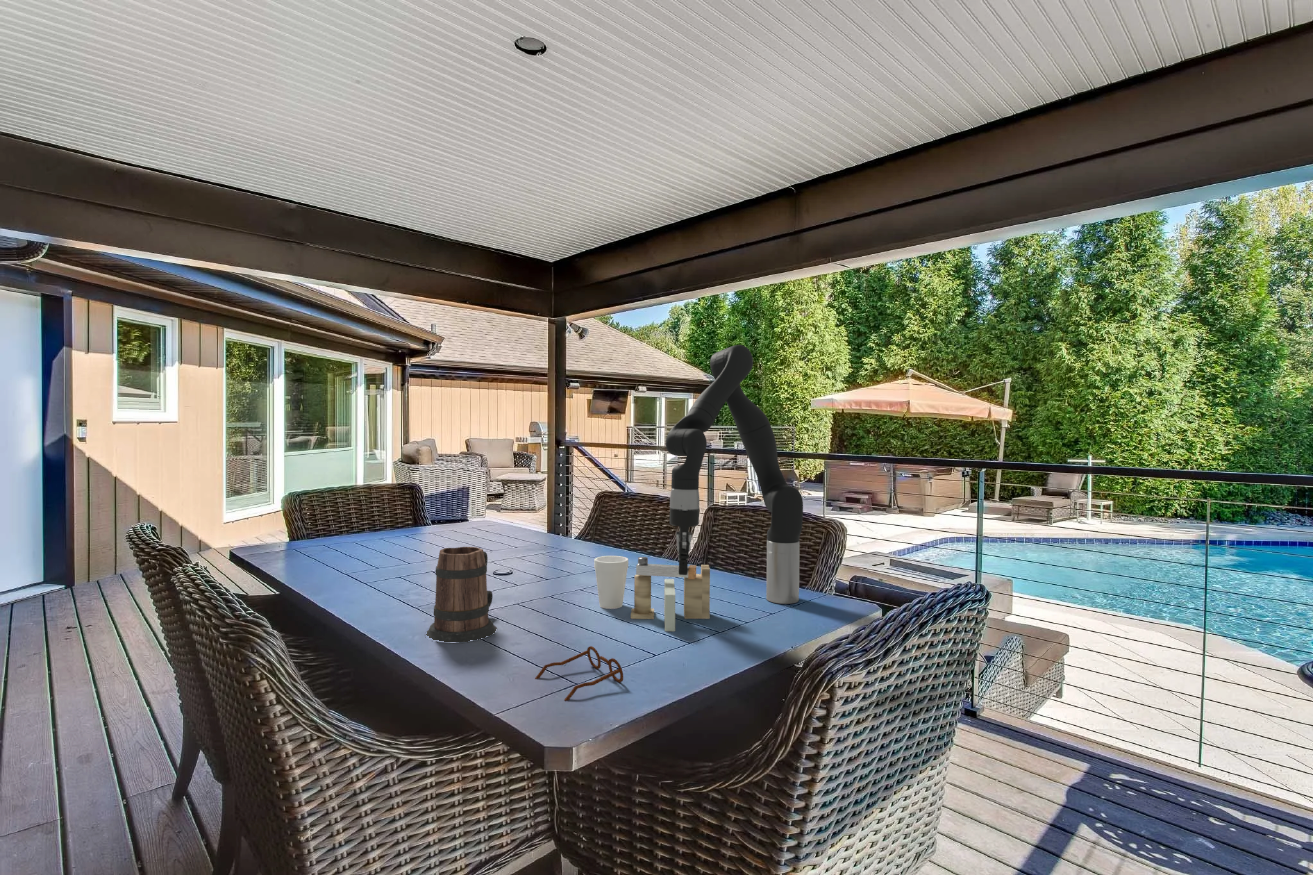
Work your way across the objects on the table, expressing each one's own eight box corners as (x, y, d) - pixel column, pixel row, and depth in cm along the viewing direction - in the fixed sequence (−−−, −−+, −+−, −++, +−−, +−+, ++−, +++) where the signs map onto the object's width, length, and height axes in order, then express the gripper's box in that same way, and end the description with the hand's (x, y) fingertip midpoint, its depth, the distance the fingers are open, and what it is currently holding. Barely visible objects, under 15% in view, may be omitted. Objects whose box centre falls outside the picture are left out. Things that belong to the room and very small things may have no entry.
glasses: (624, 686, 127) (625, 661, 127) (565, 703, 119) (565, 676, 119) (590, 666, 138) (590, 642, 138) (533, 680, 130) (533, 655, 130)
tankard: (478, 645, 149) (478, 558, 148) (410, 640, 152) (410, 555, 151) (518, 615, 172) (518, 540, 171) (459, 612, 175) (459, 537, 174)
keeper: (683, 612, 175) (684, 564, 175) (708, 613, 175) (708, 564, 175) (684, 618, 170) (684, 568, 170) (709, 618, 170) (709, 569, 170)
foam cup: (600, 612, 175) (600, 563, 175) (589, 603, 184) (589, 557, 183) (633, 608, 179) (633, 561, 179) (620, 599, 188) (621, 554, 187)
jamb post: (631, 612, 175) (631, 573, 175) (654, 612, 175) (654, 573, 175) (630, 618, 169) (631, 578, 169) (653, 618, 169) (654, 578, 169)
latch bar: (635, 575, 171) (636, 558, 171) (638, 573, 174) (638, 556, 174) (694, 579, 168) (694, 561, 168) (696, 576, 171) (696, 559, 171)
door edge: (664, 612, 175) (664, 578, 175) (673, 612, 175) (673, 579, 175) (664, 631, 159) (665, 594, 159) (675, 631, 159) (675, 594, 159)
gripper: (669, 503, 174) (668, 568, 174) (669, 508, 160) (668, 579, 160) (698, 504, 174) (696, 569, 173) (700, 509, 160) (698, 580, 160)
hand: (683, 574), depth 167 cm, fingers closed
